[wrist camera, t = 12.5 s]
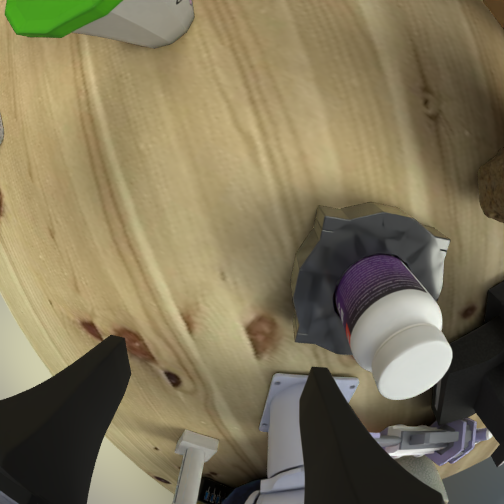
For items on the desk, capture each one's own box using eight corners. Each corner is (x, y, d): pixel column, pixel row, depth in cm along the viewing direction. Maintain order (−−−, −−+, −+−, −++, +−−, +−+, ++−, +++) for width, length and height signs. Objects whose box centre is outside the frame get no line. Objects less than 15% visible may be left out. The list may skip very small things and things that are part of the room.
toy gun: (508, 407, 25) (468, 417, 31) (388, 398, 21) (337, 407, 28) (505, 452, 21) (464, 458, 27) (376, 476, 17) (325, 469, 23)
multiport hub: (194, 476, 35) (204, 476, 34) (241, 496, 38) (251, 495, 37) (188, 499, 31) (197, 500, 30) (237, 516, 34) (247, 516, 33)
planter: (339, 477, 33) (345, 535, 23) (396, 439, 29) (413, 507, 19) (392, 478, 35) (402, 527, 25) (445, 442, 30) (463, 495, 20)
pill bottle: (313, 283, 20) (338, 389, 11) (365, 225, 19) (433, 306, 10) (363, 319, 21) (402, 418, 12) (412, 269, 20) (479, 354, 11)
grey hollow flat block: (400, 337, 22) (410, 356, 20) (279, 328, 22) (280, 350, 20) (445, 218, 18) (463, 230, 16) (307, 189, 18) (313, 199, 16)
